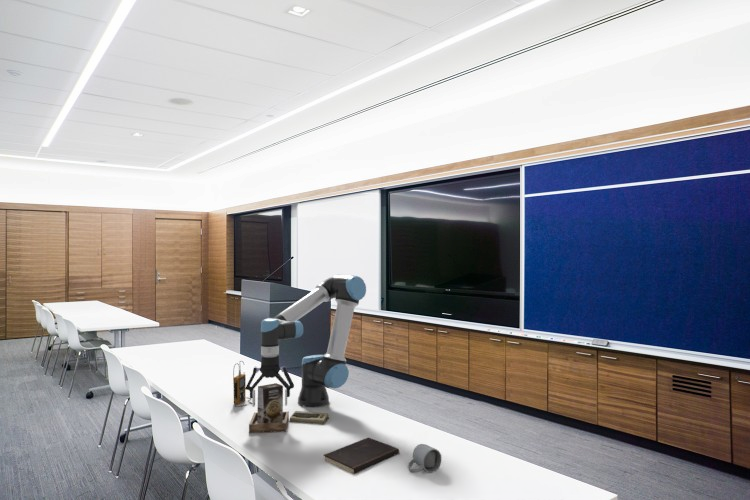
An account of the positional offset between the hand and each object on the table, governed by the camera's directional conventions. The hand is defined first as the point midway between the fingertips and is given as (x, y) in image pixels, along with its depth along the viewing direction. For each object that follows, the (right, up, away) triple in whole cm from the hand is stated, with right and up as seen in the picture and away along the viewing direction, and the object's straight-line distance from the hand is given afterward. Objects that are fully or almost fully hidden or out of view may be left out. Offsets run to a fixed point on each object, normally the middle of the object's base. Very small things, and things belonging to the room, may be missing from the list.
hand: (270, 405), depth 204 cm
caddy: (0, -9, 0) cm, 9 cm away
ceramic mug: (+61, -9, -41) cm, 74 cm away
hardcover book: (+40, -9, -31) cm, 52 cm away
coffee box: (0, -8, 0) cm, 8 cm away
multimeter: (-19, -9, +32) cm, 38 cm away
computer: (+16, -10, +7) cm, 20 cm away
